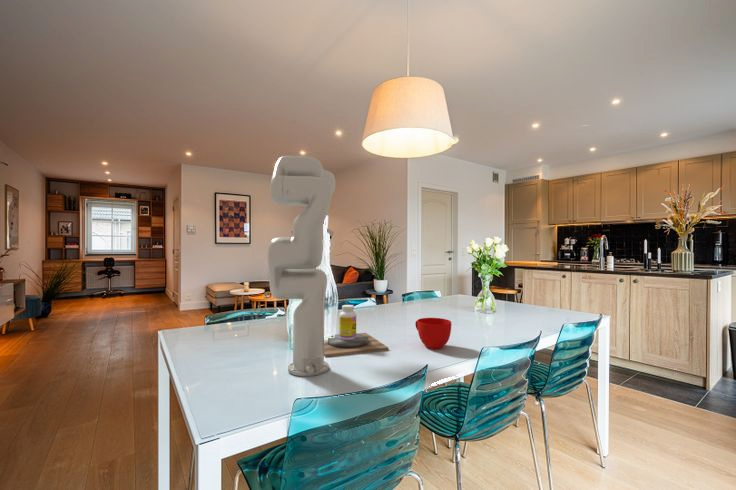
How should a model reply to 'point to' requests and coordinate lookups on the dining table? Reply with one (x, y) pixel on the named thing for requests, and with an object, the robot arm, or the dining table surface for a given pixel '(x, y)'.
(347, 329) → the supplement bottle
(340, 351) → the mount board
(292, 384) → the dining table surface
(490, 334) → the dining table surface
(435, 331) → the ceramic cup
